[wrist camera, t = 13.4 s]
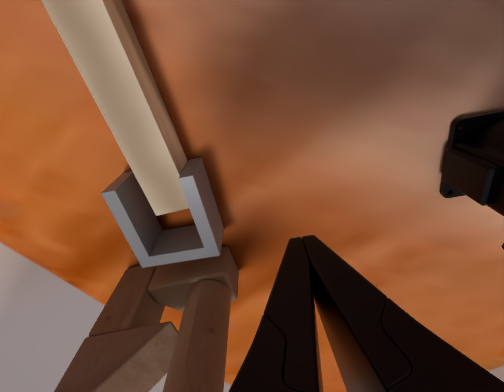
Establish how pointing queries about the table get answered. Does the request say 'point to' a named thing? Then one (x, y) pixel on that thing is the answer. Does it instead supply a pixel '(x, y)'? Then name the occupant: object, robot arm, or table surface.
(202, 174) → the endcap
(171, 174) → the slat
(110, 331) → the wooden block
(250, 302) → the table surface
